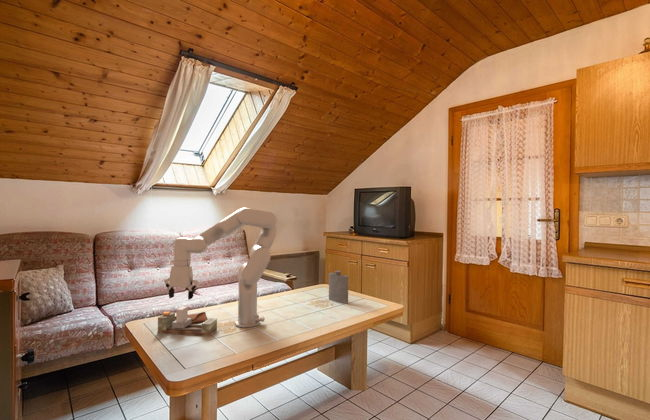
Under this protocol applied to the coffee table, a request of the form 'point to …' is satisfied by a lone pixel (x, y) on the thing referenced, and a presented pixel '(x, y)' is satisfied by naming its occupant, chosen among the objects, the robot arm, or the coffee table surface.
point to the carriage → (181, 318)
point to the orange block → (166, 313)
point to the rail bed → (203, 329)
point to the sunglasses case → (197, 318)
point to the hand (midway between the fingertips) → (180, 298)
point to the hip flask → (338, 287)
